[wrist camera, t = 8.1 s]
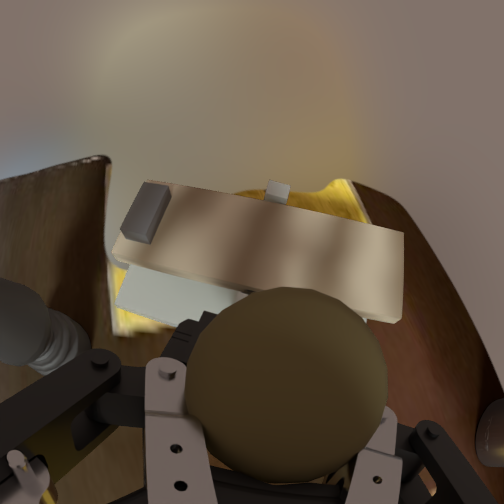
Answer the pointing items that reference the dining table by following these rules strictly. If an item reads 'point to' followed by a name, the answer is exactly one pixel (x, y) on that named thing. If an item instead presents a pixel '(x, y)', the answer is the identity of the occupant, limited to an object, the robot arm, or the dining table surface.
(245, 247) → the beam
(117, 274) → the dining table surface
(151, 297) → the beam stand
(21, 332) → the candle holder
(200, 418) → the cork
